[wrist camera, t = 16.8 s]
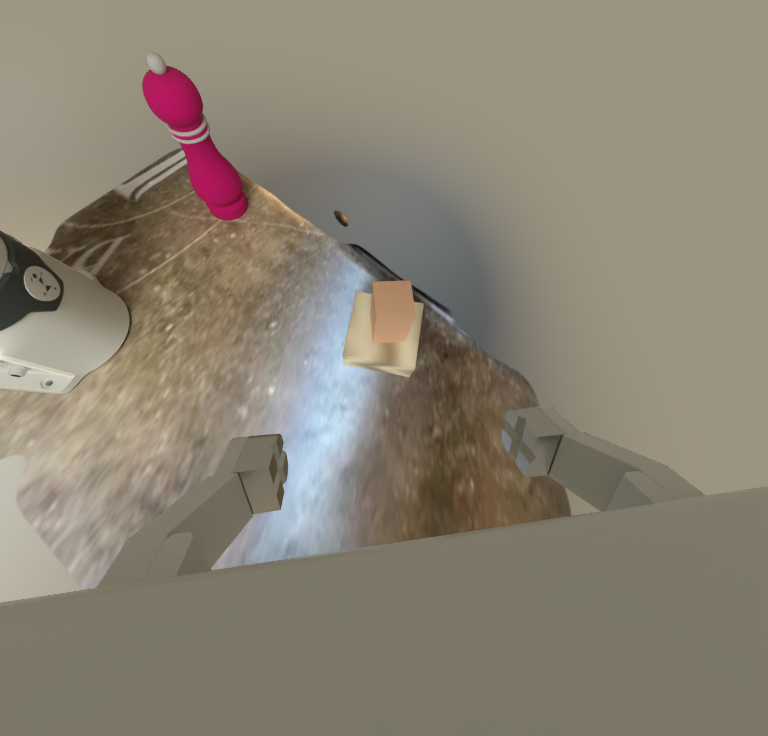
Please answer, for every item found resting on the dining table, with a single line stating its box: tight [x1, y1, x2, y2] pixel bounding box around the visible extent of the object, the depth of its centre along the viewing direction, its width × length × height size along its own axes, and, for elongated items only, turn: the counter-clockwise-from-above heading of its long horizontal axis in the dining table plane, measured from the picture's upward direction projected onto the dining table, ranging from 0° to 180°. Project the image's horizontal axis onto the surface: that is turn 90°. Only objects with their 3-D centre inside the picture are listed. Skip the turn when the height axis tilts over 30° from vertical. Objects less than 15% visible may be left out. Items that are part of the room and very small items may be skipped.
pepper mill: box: [142, 52, 247, 220], centre depth 41 cm, size 7×7×20 cm
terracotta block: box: [370, 280, 416, 344], centre depth 37 cm, size 4×4×8 cm
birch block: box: [343, 291, 424, 377], centre depth 43 cm, size 10×10×5 cm
